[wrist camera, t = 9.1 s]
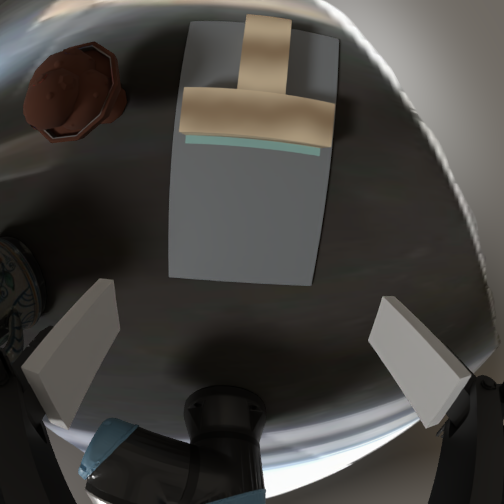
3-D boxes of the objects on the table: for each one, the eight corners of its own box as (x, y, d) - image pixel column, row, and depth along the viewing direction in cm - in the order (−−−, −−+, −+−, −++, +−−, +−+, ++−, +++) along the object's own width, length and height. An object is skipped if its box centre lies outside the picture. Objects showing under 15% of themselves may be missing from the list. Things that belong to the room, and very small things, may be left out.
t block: (320, 148, 31) (331, 147, 27) (185, 135, 29) (178, 131, 25) (327, 42, 26) (338, 30, 22) (200, 26, 24) (197, 12, 21)
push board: (310, 284, 37) (311, 286, 37) (169, 275, 35) (168, 277, 35) (337, 40, 26) (339, 39, 26) (191, 22, 24) (190, 21, 24)
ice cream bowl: (162, 108, 28) (111, 76, 14) (93, 161, 29) (17, 170, 15) (127, 51, 25) (72, 3, 11) (63, 103, 26) (-10, 89, 12)
